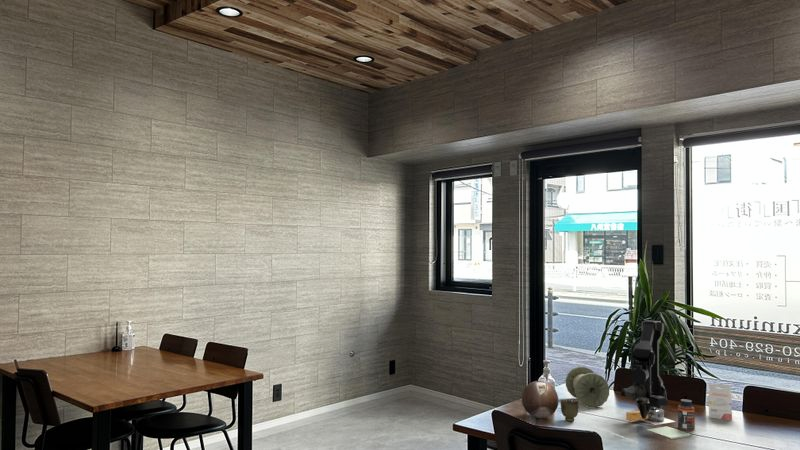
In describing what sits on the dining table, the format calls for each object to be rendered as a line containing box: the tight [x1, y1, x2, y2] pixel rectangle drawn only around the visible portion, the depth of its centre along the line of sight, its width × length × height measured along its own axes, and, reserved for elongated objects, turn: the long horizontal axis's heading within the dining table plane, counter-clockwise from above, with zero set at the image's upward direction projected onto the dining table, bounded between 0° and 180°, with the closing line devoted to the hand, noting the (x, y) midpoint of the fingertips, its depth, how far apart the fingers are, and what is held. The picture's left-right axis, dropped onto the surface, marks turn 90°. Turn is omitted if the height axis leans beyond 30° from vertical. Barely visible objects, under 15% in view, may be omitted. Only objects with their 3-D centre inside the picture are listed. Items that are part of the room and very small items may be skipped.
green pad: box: [646, 425, 692, 440], centre depth 221 cm, size 11×11×1 cm
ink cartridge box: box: [707, 382, 733, 421], centre depth 243 cm, size 9×5×15 cm, turn 62°
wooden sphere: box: [521, 380, 560, 419], centre depth 242 cm, size 15×15×15 cm
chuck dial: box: [625, 407, 665, 422], centre depth 237 cm, size 18×8×5 cm, turn 115°
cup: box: [559, 399, 580, 423], centre depth 237 cm, size 8×7×8 cm
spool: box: [565, 366, 610, 409], centre depth 267 cm, size 16×15×15 cm
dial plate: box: [640, 417, 677, 426], centre depth 239 cm, size 12×12×1 cm
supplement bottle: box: [677, 398, 696, 431], centre depth 227 cm, size 6×6×11 cm
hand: (643, 418), depth 231 cm, fingers closed
